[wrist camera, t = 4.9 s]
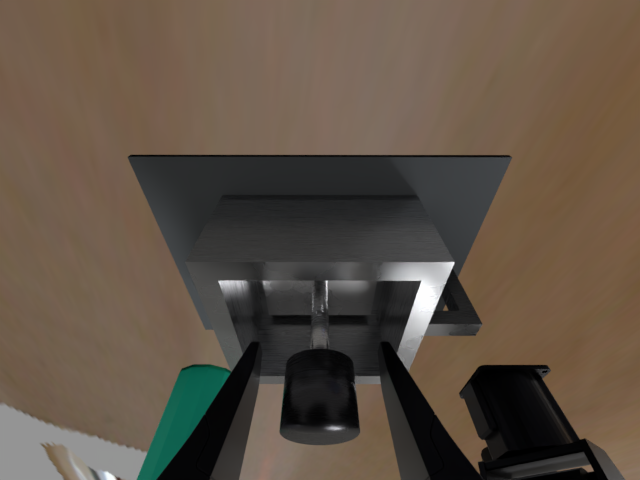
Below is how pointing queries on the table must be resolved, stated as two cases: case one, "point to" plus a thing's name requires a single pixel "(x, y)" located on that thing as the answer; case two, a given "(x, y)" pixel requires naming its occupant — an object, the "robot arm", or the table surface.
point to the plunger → (319, 361)
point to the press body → (327, 276)
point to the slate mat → (317, 191)
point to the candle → (182, 414)
